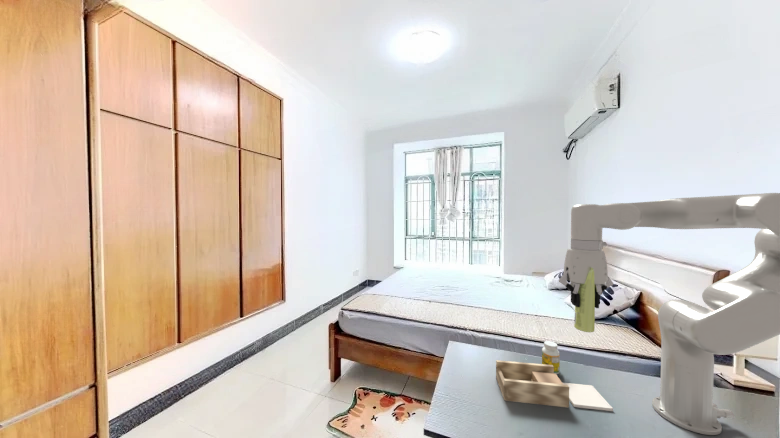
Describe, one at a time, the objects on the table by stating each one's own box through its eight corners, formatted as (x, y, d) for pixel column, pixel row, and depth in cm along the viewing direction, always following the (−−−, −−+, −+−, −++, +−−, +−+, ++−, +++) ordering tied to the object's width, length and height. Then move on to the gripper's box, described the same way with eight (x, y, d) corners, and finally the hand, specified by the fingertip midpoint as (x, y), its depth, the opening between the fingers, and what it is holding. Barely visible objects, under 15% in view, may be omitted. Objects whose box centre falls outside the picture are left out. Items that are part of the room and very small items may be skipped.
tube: (600, 330, 78) (600, 265, 78) (593, 335, 76) (593, 267, 75) (578, 324, 83) (578, 262, 83) (570, 328, 80) (571, 264, 80)
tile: (592, 387, 84) (592, 385, 84) (612, 411, 74) (613, 408, 74) (557, 384, 86) (557, 382, 86) (573, 406, 76) (573, 404, 76)
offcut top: (555, 381, 84) (555, 373, 84) (565, 395, 78) (565, 386, 78) (531, 379, 85) (531, 371, 85) (539, 392, 79) (539, 384, 79)
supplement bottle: (563, 374, 91) (563, 347, 91) (547, 375, 91) (548, 347, 90) (552, 365, 96) (553, 339, 96) (538, 366, 96) (538, 340, 96)
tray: (552, 383, 86) (552, 365, 86) (569, 407, 76) (569, 387, 75) (495, 377, 89) (496, 360, 89) (504, 400, 78) (504, 380, 78)
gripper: (609, 244, 81) (608, 303, 81) (549, 243, 84) (549, 300, 84) (627, 247, 74) (625, 312, 74) (560, 246, 76) (560, 309, 77)
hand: (585, 305), depth 79 cm, fingers closed on tube, 4 cm apart
